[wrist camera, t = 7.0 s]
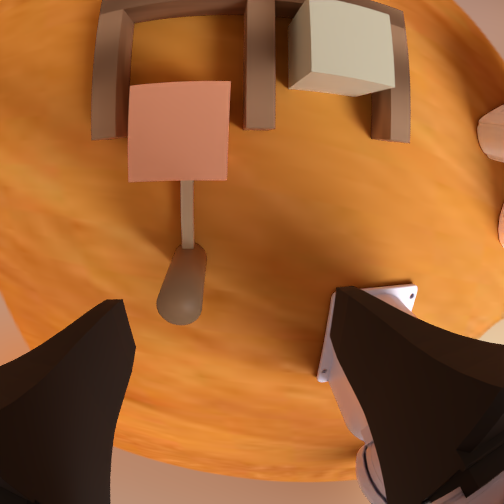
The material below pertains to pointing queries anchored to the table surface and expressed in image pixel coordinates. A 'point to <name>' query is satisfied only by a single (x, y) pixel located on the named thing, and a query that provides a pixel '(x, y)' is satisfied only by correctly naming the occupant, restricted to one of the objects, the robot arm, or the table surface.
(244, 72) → the lane rack
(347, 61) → the plain block
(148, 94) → the tethered block
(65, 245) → the table surface
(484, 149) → the photo printer
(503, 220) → the white cup
